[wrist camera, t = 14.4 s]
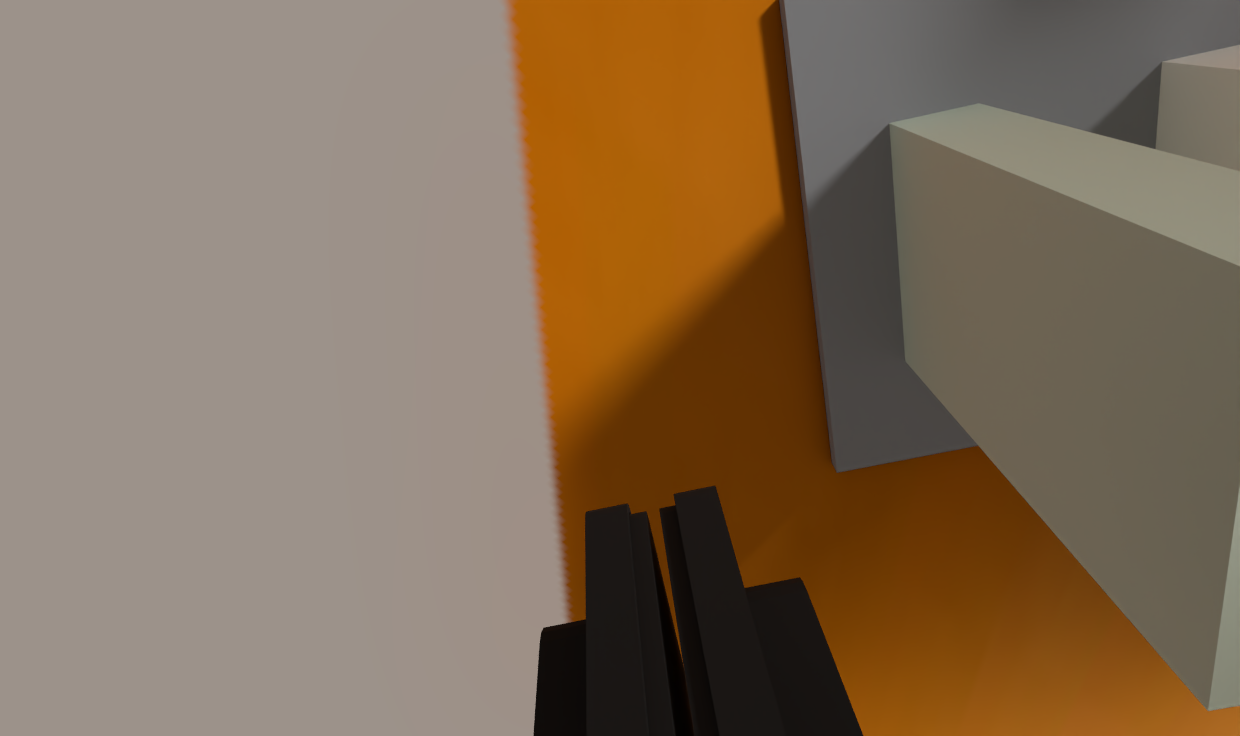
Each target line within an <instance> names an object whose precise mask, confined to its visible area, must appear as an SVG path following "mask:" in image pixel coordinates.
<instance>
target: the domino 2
mask: <svg viewBox="0 0 1240 736" xmlns="http://www.w3.org/2000/svg"><path fill="white" fill-rule="evenodd" d="M1156 150H1160V151H1164V152H1168V153H1172V154H1175V155H1179V156H1183V157H1187V158H1191V159H1195V160H1198V161H1202V162H1206V163H1210V164H1214V165H1218V166H1221V167H1225V168H1229V169H1233V170H1237V171H1240V45H1236V46H1232V47H1227V48H1223V49H1218V50H1213V51H1209V52H1204V53H1200V54H1195V55H1191V56H1186V57H1181V58H1177V59H1172V60H1168V61H1163V62H1162V69H1161V82H1160V96H1159V109H1158V123H1157V136H1156Z"/></svg>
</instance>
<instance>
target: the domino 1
mask: <svg viewBox="0 0 1240 736" xmlns="http://www.w3.org/2000/svg"><path fill="white" fill-rule="evenodd" d="M889 126H890V141H891V156H892V171H893V186H894V201H895V216H896V230H897V245H898V260H899V275H900V290H901V305H902V320H903V335H904V350H905V361H906V363H907V364H908V365H909V366H910V367H911V368H912V370H913V371H914V372H915V373H916V374H917V375H918V376H919V378H920V379H921V380H922V381H923V382H924V383H925V385H926V386H927V387H928V388H929V389H930V390H931V392H932V393H933V394H934V395H935V396H936V397H937V398H938V400H939V401H940V402H941V403H942V404H943V405H944V407H945V408H946V409H947V410H948V411H949V412H950V413H951V415H952V416H953V417H954V418H955V419H956V420H957V422H958V423H959V424H960V425H961V426H962V427H963V428H964V430H965V431H966V432H967V433H968V434H969V435H970V437H971V438H972V439H973V440H974V441H975V442H976V444H977V445H978V446H979V447H980V448H981V449H982V450H983V452H984V453H985V454H986V455H987V456H988V457H989V459H990V460H991V461H992V462H993V463H994V464H995V465H996V467H997V468H998V469H999V470H1000V471H1001V472H1002V474H1003V475H1004V476H1005V477H1006V478H1007V479H1008V480H1009V482H1010V483H1011V484H1012V485H1013V486H1014V487H1015V489H1016V490H1017V491H1018V492H1019V493H1020V494H1021V495H1022V497H1023V498H1024V499H1025V500H1026V501H1027V502H1028V504H1029V505H1030V506H1031V507H1032V508H1033V509H1034V511H1035V512H1036V513H1037V514H1038V515H1039V516H1040V517H1041V519H1042V520H1043V521H1044V522H1045V523H1046V524H1047V526H1048V527H1049V528H1050V529H1051V530H1052V531H1053V532H1054V534H1055V535H1056V536H1057V537H1058V538H1059V539H1060V541H1061V542H1062V543H1063V544H1064V545H1065V546H1066V547H1067V549H1068V550H1069V551H1070V552H1071V553H1072V554H1073V556H1074V557H1075V558H1076V559H1077V560H1078V561H1079V563H1080V564H1081V565H1082V566H1083V567H1084V568H1085V569H1086V571H1087V572H1088V573H1089V574H1090V575H1091V576H1092V578H1093V579H1094V580H1095V581H1096V582H1097V583H1098V584H1099V586H1100V587H1101V588H1102V589H1103V590H1104V591H1105V593H1106V594H1107V595H1108V596H1109V597H1110V598H1111V599H1112V601H1113V602H1114V603H1115V604H1116V605H1117V606H1118V608H1119V609H1120V610H1121V611H1122V612H1123V613H1124V615H1125V616H1126V617H1127V618H1128V619H1129V620H1130V621H1131V623H1132V624H1133V625H1134V626H1135V627H1136V628H1137V630H1138V631H1139V632H1140V633H1141V634H1142V635H1143V636H1144V638H1145V639H1146V640H1147V641H1148V642H1149V643H1150V645H1151V646H1152V647H1153V648H1154V649H1155V650H1156V651H1157V653H1158V654H1159V655H1160V656H1161V657H1162V658H1163V660H1164V661H1165V662H1166V663H1167V664H1168V665H1169V667H1170V668H1171V669H1172V670H1173V671H1174V672H1175V673H1176V675H1177V676H1178V677H1179V678H1180V679H1181V680H1182V682H1183V683H1184V684H1185V685H1186V686H1187V687H1188V688H1189V690H1190V691H1191V692H1192V693H1193V694H1194V695H1195V697H1196V698H1197V699H1198V700H1199V701H1200V702H1201V703H1202V705H1203V706H1204V707H1205V708H1206V709H1207V710H1208V711H1211V710H1217V709H1223V708H1229V707H1234V706H1240V171H1237V170H1233V169H1229V168H1225V167H1221V166H1218V165H1214V164H1210V163H1206V162H1202V161H1198V160H1195V159H1191V158H1187V157H1183V156H1179V155H1175V154H1172V153H1168V152H1164V151H1160V150H1156V149H1152V148H1149V147H1145V146H1141V145H1137V144H1133V143H1129V142H1126V141H1122V140H1118V139H1114V138H1110V137H1106V136H1103V135H1099V134H1095V133H1091V132H1087V131H1083V130H1080V129H1076V128H1072V127H1068V126H1064V125H1060V124H1057V123H1053V122H1049V121H1045V120H1041V119H1037V118H1034V117H1030V116H1026V115H1022V114H1018V113H1014V112H1011V111H1007V110H1003V109H999V108H995V107H991V106H988V105H984V104H980V103H978V104H974V105H969V106H965V107H960V108H955V109H951V110H946V111H942V112H937V113H933V114H928V115H924V116H919V117H915V118H910V119H906V120H901V121H897V122H892V123H889Z"/></svg>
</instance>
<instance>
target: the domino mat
mask: <svg viewBox="0 0 1240 736" xmlns="http://www.w3.org/2000/svg"><path fill="white" fill-rule="evenodd" d="M779 3H780V12H781V21H782V29H783V38H784V47H785V56H786V64H787V73H788V82H789V91H790V99H791V108H792V117H793V126H794V134H795V143H796V152H797V161H798V169H799V178H800V187H801V196H802V204H803V213H804V222H805V231H806V239H807V248H808V257H809V266H810V274H811V283H812V292H813V301H814V309H815V318H816V327H817V336H818V344H819V353H820V362H821V371H822V379H823V388H824V397H825V406H826V414H827V423H828V432H829V441H830V449H831V458H832V464H833V466H834V468H835V470H836V472H837V473H838V472H844V471H849V470H854V469H859V468H864V467H870V466H875V465H880V464H885V463H890V462H896V461H901V460H906V459H911V458H916V457H922V456H927V455H932V454H937V453H942V452H948V451H953V450H958V449H963V448H968V447H974V446H978V445H977V444H976V442H975V441H974V440H973V439H972V438H971V437H970V435H969V434H968V433H967V432H966V431H965V430H964V428H963V427H962V426H961V425H960V424H959V423H958V422H957V420H956V419H955V418H954V417H953V416H952V415H951V413H950V412H949V411H948V410H947V409H946V408H945V407H944V405H943V404H942V403H941V402H940V401H939V400H938V398H937V397H936V396H935V395H934V394H933V393H932V392H931V390H930V389H929V388H928V387H927V386H926V385H925V383H924V382H923V381H922V380H921V379H920V378H919V376H918V375H917V374H916V373H915V372H914V371H913V370H912V368H911V367H910V366H909V365H908V364H907V363H906V361H905V350H904V335H903V320H902V305H901V290H900V275H899V260H898V245H897V230H896V216H895V201H894V186H893V171H892V156H891V141H890V126H889V123H892V122H897V121H901V120H906V119H910V118H915V117H919V116H924V115H928V114H933V113H937V112H942V111H946V110H951V109H955V108H960V107H965V106H969V105H974V104H978V103H980V104H984V105H988V106H991V107H995V108H999V109H1003V110H1007V111H1011V112H1014V113H1018V114H1022V115H1026V116H1030V117H1034V118H1037V119H1041V120H1045V121H1049V122H1053V123H1057V124H1060V125H1064V126H1068V127H1072V128H1076V129H1080V130H1083V131H1087V132H1091V133H1095V134H1099V135H1103V136H1106V137H1110V138H1114V139H1118V140H1122V141H1126V142H1129V143H1133V144H1137V145H1141V146H1145V147H1149V148H1152V149H1156V136H1157V123H1158V109H1159V96H1160V82H1161V69H1162V62H1163V61H1168V60H1172V59H1177V58H1181V57H1186V56H1191V55H1195V54H1200V53H1204V52H1209V51H1213V50H1218V49H1223V48H1227V47H1232V46H1236V45H1240V0H779Z"/></svg>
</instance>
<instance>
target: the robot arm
mask: <svg viewBox="0 0 1240 736" xmlns="http://www.w3.org/2000/svg"><path fill="white" fill-rule="evenodd" d="M674 499H675V504H676V505H675V506H670V507H665V508H660V517H661V523H662V529H663V536H664V542H665V549H666V555H667V562H668V568H669V574H670V581H671V587H672V594H673V600H674V607H675V613H676V619H677V626H678V632H679V639H680V645H681V652H682V658H683V662H682V658H681V654H680V650H679V645H678V641H677V637H676V633H675V629H674V624H673V620H672V616H671V612H670V607H669V603H668V599H667V595H666V591H665V586H664V582H663V578H662V574H661V570H660V565H659V561H658V557H657V553H656V548H655V544H654V540H653V536H652V532H651V527H650V523H649V519H648V515H647V512H646V511H645V512H640V513H635V514H631V511H630V508H629V505H628V503H627V504H622V505H617V506H612V507H607V508H602V509H597V510H593V511H588V512H586V515H585V552H586V620H581V621H576V622H571V623H566V624H561V625H556V626H550V627H546V628H543V630H542V632H541V639H540V649H539V664H538V677H537V678H538V679H537V693H536V708H535V723H534V736H863V734H862V731H861V729H860V726H859V724H858V721H857V718H856V716H855V713H854V711H853V708H852V706H851V703H850V700H849V698H848V695H847V693H846V690H845V688H844V685H843V682H842V680H841V677H840V675H839V672H838V670H837V667H836V664H835V662H834V659H833V657H832V654H831V652H830V649H829V646H828V644H827V641H826V639H825V636H824V634H823V631H822V628H821V626H820V623H819V621H818V618H817V616H816V613H815V610H814V608H813V605H812V603H811V600H810V598H809V595H808V593H807V590H806V588H805V585H804V583H803V581H802V580H801V578H800V577H799V578H794V579H789V580H784V581H779V582H774V583H769V584H764V585H759V586H754V587H748V588H744V585H743V582H742V578H741V575H740V571H739V568H738V564H737V560H736V557H735V553H734V550H733V546H732V543H731V539H730V536H729V532H728V529H727V525H726V521H725V518H724V514H723V511H722V507H721V504H720V500H719V497H718V493H717V490H716V487H715V486H711V487H706V488H701V489H696V490H691V491H686V492H681V493H676V494H674ZM683 664H684V667H683Z"/></svg>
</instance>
